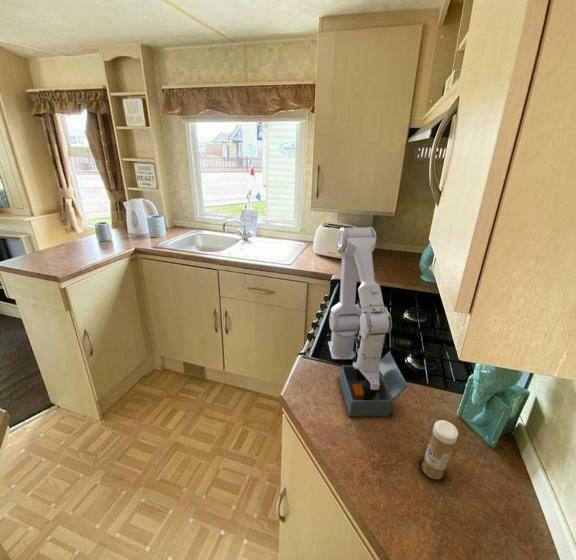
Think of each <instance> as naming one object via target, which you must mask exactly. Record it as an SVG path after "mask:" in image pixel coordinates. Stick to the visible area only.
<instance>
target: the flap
mask: <svg viewBox="0 0 576 560" xmlns="http://www.w3.org/2000/svg"><path fill="white" fill-rule="evenodd" d="M379 366H380V370H379V371H380V374H381V376H382V378H383V380H384V383H385V385H386V387H387V389H388V392H389V394H390V396H391V398H392V400H395V399H396V398H397V397H398V396H399V395H400V394H402V393H403V392H404V391H405V390H406V389H407V388H408V387H409V384H408V383H407V381H406V379H405V378H404V376H403V374H402V372H401V370H400V368H399V366H398V365H397V362H396V360H395V359H394V357H393V356H392V354H391V352H390V351H388V352H387V353H386V354H384V356H383V357H381V359H380V364H379Z"/></svg>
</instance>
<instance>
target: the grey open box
mask: <svg viewBox="0 0 576 560" xmlns="http://www.w3.org/2000/svg"><path fill="white" fill-rule="evenodd" d="M365 380H367V379H366V378H365ZM379 382H382V384H383V389H381V390H380V391H379V392H377V393H376V394H377V395H376V400H354V398H353V395H352V392H351V388H352V384H361V382H360V381H357V379H356V369H354V367H353V365H341V366H340V373H339V383H340V386H341V390H342V394H343V398H344V401H345V406H346V409H347V413H348V416H349V417H350V418H351V417H387V416H388V417H389V416H390V414H391V409H392V405H393V402H394V399H393V398H392V396H391V393H390V391H389V389H388V387H387V385H386V382H385V380H384V378H383V376H382V373H381V371H380V370H379Z"/></svg>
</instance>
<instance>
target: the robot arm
mask: <svg viewBox="0 0 576 560" xmlns="http://www.w3.org/2000/svg"><path fill="white" fill-rule="evenodd" d="M376 243H377V233H376V230H375V228H374V227H372V226H369V227H344V226H343V227H340V229H339V230H338V232H337V234H336V253H338V254H340V255H341V266H340V267H341V269H340V289H339V302H337V303H336V304H334V305H333V306H332V307H331V308H330V313H329V317H328V322H329V323H328V324H329V329H330V330H331V336H330V337H331V338H330V341H327V345H328V348H329V352H330V355H331V356H330V357H331V359H332V360H352V366H353V367H354V369H356V379H357V381H360V382H361V385H362V388H363V399H364V400H373V398H374V396H375V395H376V393H377V392H379V391H380V390H381V389H383V384H382V382H379V371H380V366H379V364H380V360H381V359H382V354H383V349H384V342H385V338H386V334H387V333H388V334H389V333H390V332H391V331H392V327H393V321H392V320H393V319H392V316H391V313H390V312H389V311H388V307H387V306H385V304H384V300H383V293H382V289H381V285H380V284H379V283H378V282H377V281H375V280H376V279H375V270H374V259H373V252H374V250H375V248H376ZM357 277H359V280H360V285H359V287H358V288H357V279H358V278H357ZM357 291H358V293H357ZM356 294H358V298H359V304H360V306H359V305H357V304H356ZM358 331H359V334H360V337H361V338H360V344H359V347H358V348H357V356H356V353H355V351H354V348H355V347H354V346H355V339H356V335H357V334H358ZM365 378H366V379H367V380H365Z"/></svg>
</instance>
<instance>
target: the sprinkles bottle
mask: <svg viewBox="0 0 576 560" xmlns="http://www.w3.org/2000/svg"><path fill="white" fill-rule="evenodd" d="M458 437H459V431H458V429H457V427H456V426H455V425H454V424H453V423H451V422H449V421H447V420H444V419H440V420H437V421H435V423H434V425H433V428H432V434H431V437H430V440H429V443H428V445H427V447H426V448H427V449H426V451H425V453H424V458H423V460H422V462H421V469H422V472H423V473H424V475H426V476H427V477H428V478H430V479H432V480H440V479H442V478H443V476H444V472H445V469H446V467H447V465H448V463H449V459H450V456H451V454H452V451H453V448H454V445H455V443H456V442H457V440H458Z"/></svg>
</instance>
